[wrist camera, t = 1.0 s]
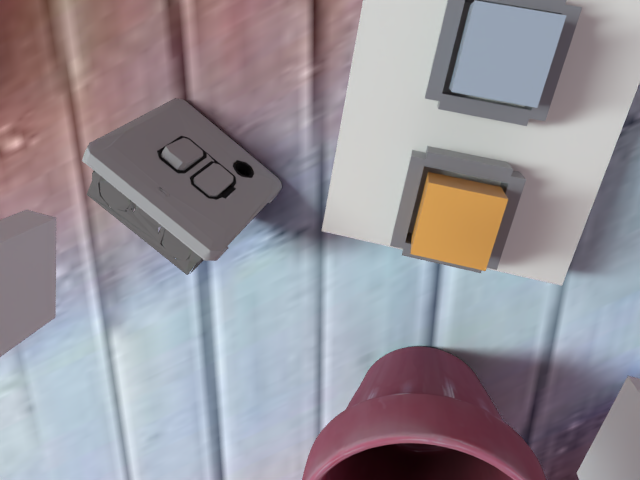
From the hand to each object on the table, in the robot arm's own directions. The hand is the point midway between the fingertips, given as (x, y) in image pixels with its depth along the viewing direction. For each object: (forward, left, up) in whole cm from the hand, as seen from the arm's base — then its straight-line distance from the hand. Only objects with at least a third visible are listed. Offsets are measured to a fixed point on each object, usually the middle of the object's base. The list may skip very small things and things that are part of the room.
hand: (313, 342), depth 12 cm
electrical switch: (+3, -11, -24) cm, 26 cm away
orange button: (+2, +5, -19) cm, 19 cm away
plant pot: (+17, +7, -24) cm, 30 cm away
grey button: (-7, +5, -19) cm, 20 cm away
